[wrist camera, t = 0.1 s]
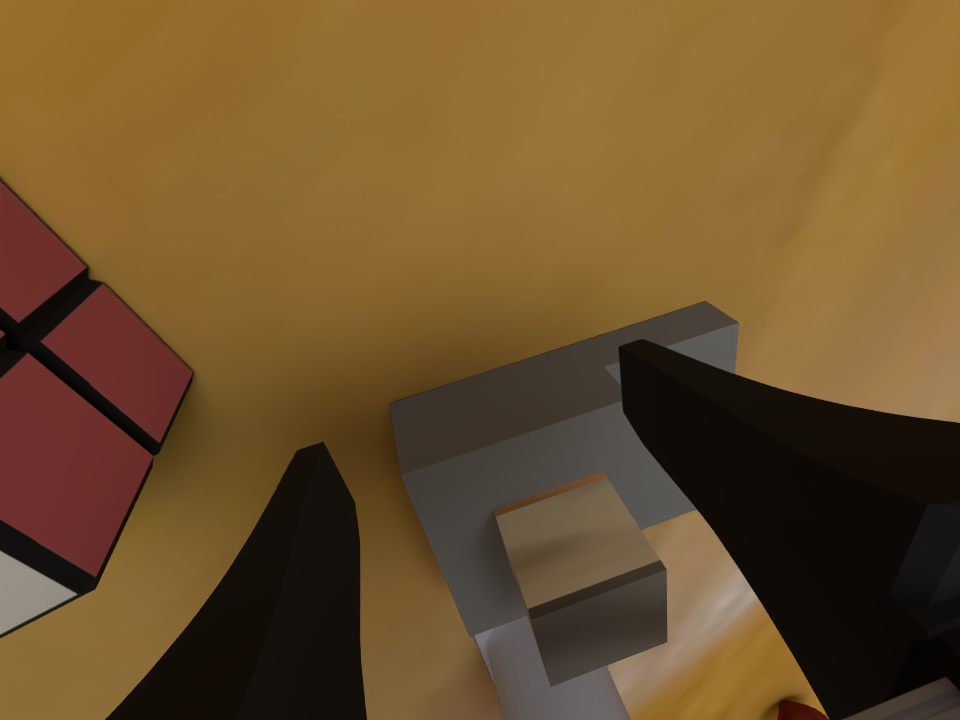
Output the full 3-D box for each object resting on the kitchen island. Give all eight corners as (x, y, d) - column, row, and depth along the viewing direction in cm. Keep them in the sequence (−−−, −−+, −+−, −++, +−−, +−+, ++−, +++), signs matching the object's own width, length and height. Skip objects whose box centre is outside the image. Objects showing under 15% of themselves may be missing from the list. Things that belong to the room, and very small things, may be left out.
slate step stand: (698, 471, 31) (752, 532, 27) (452, 558, 29) (470, 636, 25) (705, 301, 24) (778, 348, 20) (389, 403, 23) (400, 475, 19)
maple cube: (610, 542, 24) (667, 642, 20) (513, 577, 24) (550, 687, 20) (602, 471, 21) (666, 569, 17) (493, 509, 21) (531, 619, 17)
